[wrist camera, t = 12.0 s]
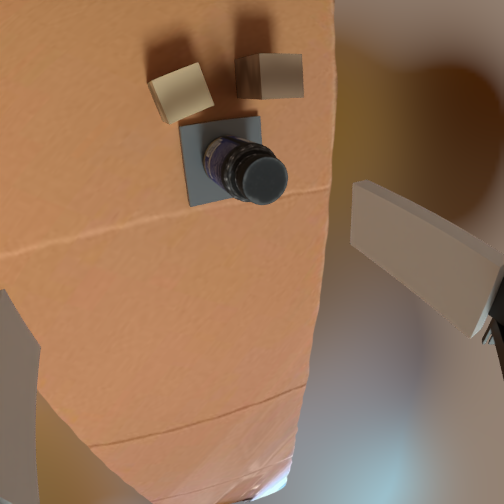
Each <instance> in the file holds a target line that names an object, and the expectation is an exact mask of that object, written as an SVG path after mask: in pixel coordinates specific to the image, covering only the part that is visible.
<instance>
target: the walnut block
mask: <svg viewBox="0 0 504 504" xmlns="http://www.w3.org/2000/svg"><path fill="white" fill-rule="evenodd" d="M235 73H236V87H237V98H243V99H261V100H263V99H279V98H303V97H304V88H303V66H302V54H278V53H259V54H255V55H250V56H246V57H242V58H239V59H235Z"/></svg>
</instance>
